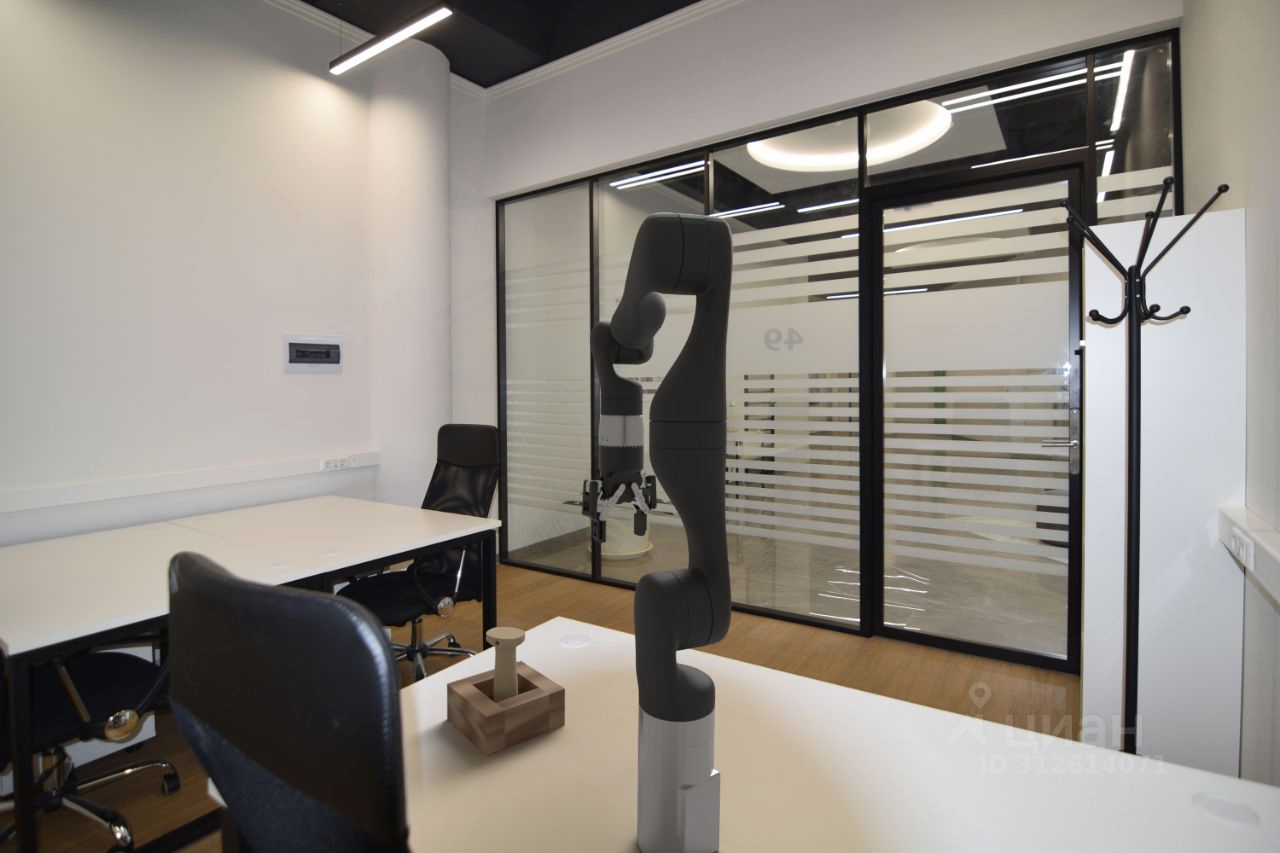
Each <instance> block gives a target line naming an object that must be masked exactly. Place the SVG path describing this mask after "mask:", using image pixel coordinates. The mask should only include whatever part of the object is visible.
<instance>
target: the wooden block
mask: <svg viewBox="0 0 1280 853" xmlns="http://www.w3.org/2000/svg"><path fill="white" fill-rule="evenodd" d="M516 662H517V678H518V695H517V696H514V697H511V698H508V699H505V700H502V701H500V702H497V703H495V702H494V672H495V668H493V669H490V670H487V671H483V672H480V673H477V674H474V675H471V676H468V677H465V678H461V679H458V680H455V681H450V682H448V683H447V684H446V719H447V720H448V721H449V723H451V724H452V725H453V726H454V727H455V726H456V727H457V728H456V727H455V728H456V729H457V730H459V731H460V732H461V733H462V734H463V735H464V736H465V737H466V738H467V739H468V740H469V741H470V742H472V744H473V745H475V746H476V748H478V749H479V750H480V751H481V752H482V753H483V754H484V755H485V756H487V757H488V756H490V755H493V754H494V753H495V754H496V753H497V752H501V751H503V750H505V749H507V748H510V747H513V746H515V745H518V744H520V743H522V742H525V741H527V740H530V739H533V738H534V737H538V736H539V735H542V734H544V733H547V732H550V731H552V730H554V729H557V728H559V727H561V726H564V725H566V689H565V687H563V686H561V685H560V684H559V683H557V682H555V681H553V680H552V679H551V678H548V677H547V676H546V675H544V674H542V673H541V672H540V671H538V670H536V669H535V668H533V667H532V666H530V665H528V664H526V663H525V662H524V661H522V660H519V661H516Z"/></svg>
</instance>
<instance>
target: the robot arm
mask: <svg viewBox="0 0 1280 853" xmlns="http://www.w3.org/2000/svg"><path fill="white" fill-rule="evenodd" d="M733 265H734V240H733V234H732V231H731V228H730V225H729V223H728V222H727V221H726V219H724V218H723V217H719V216H714V215H712V216H711V215H703V214H692V213H682V212H681V213H679V212H668V211H664V212H663V211H662V212H655V213H651V214H648V216H647V217H646V218H644V220H643V221H642V223H641V225H640V227H639V228H638V231H637V234H636V236H635V240H634V244H633V248H632V252H631V257H630V260H629V264H628V269H627V273H626V278H625V283H624V290H623V294H622V296H621V299H620V300H619V303H618V304H617V307H616V309H615V311H614V313H613V314H612V316H611V320H602V321H599V322H597V323H596V324H595V325H594V326H593V328H592V329H591V331H590V336H589V343H590V344H589V345H590V350H591V354H592V358H593V362H594V364H595V367H596V368H595V369H596V371H597V377H598V381H599V390H600V392H599V393H600V418H599V425H598V469H599V472H600V476H599V479H598V480H593V479H589V478H588V479H587V478H585V479H584V480H583V484H582V485H583V486H582V501H581V502H582V506H581V515H582V516H584V517H587V518H590V519H591V520H592V529H591V531H592V534H591V535H592V539H593V540H594V542H595V543H598V544H605V543H606V541H607V520H605V519H606V518H607V516H608V515H609V513H610V511H611V510H613V509H614V507H615V506H616V505H621V504H624V503H628V504H631V507H632V508H633V510H634V511H635V512H634V513H633V534H634V535H635V536H638V537H643V536H645V535H646V532H647V529H648V526H647V525H648V524H647V523H648V514H649V512H650V511H651V510H656V509H657V505H658V504H657V503H658V499H657V495H658V494H657V480H658V482H659V484H660V486H661V488H662V489H663V491H664V492H665V494H666V495H667V497H668V499H669V500H670V502H671V504H672V506H674V509H675V511H676V512H677V514H678V516H679V518H680V520H681V522H682V525H683V527H684V531H685V535H686V541H687V548H688V549H687V551H688V567H687V568H680V569H673V570H672V569H671V570H664V571H663V570H662V571H656V572H651V573H646V574H644V575H643V576H641V578H639V580H638V582H637V584H636V587H635V589H634V590H635V591H634V596H633V621H634V622H633V623H634V641H635V642H634V645H635V648H634V649H635V672H636V673H635V675H636V681H637V682H636V683H637V689H638V690H637V691H638V718H637V719H638V722H637V723H638V725H637V730H638V731H637V786H636V787H637V796H636V797H637V798H636V799H637V800H636V801H637V802H636V803H637V805H636V809H637V812H636V813H637V814H636V815H637V817H636V825H637V826H636V841H637V845H638V848H639V850H640V852H641V853H715V852H717V851H719V850H720V823H721V820H720V818H721V816H720V814H721V773H720V771H718V770H716V769H715V729H716V725H715V724H716V720H715V719H716V686H715V682H714V680H713V679H712V678H711V676H710V675H709V674H707V673H706V672H704V671H703V670H701V669H700V668H697V667H695V666H691V665H689V664H683V663H679V662H678V661H677V652H680V651H685V650H689V649H695V648H700V647H701V648H702V647H707V646H711V645H715V644H718V643H720V642H721V641H723V640H724V639H725V637H726V635H727V634H728V632H729V629H730V625H731V620H732V619H731V618H732V590H731V589H732V588H731V576H730V564H729V563H730V562H729V552H728V550H729V549H728V538H727V537H728V536H727V520H726V519H727V518H726V517H727V516H726V470H727V469H726V468H727V467H726V466H727V449H728V448H727V445H728V444H727V437H728V432H727V431H728V428H727V427H728V426H727V425H728V424H727V423H728V422H727V420H728V419H727V418H728V416H727V415H728V414H727V344H728V342H727V341H728V331H729V330H728V329H729V328H728V327H729V317H730V306H731V305H730V303H731V291H732V282H733V269H734V268H733ZM663 295H675V296H676V295H677V296H695V310H694V317H693V322H692V326H691V329H690V332H689V334H688V337H687V339H686V340H685V343H684V345H683V347H682V349H681V351H680V353H679V354H678V356H677V358H676V359H675V361H674V362H673V364H672V366H670V368H669V370H668V371H667V373H666V374H665V376H664V377H663V379H662V380H661V382H660V384H659V385H658V388H657V389H656V390H655V393H654V395H653V397H652V400H651V402H650V406H649V410H648V411H649V412H648V413H649V415H648V418H649V421H648V423H649V424H648V428H649V430H648V431H649V432H648V433H649V434H648V446H649V447H648V453H649V454H648V455H649V462H650V465H651V469H652V471H653V472H654V474H650V473H642V472H641V471H643V470H644V468H645V467H644V461H645V460H644V457H645V455H644V454H645V451H644V450H645V446H644V445H645V428H644V426H645V425H644V418H643V414H644V412H643V410H644V409H643V408H644V405H643V404H644V402H643V399H644V397H643V396H644V390H643V389H644V388H643V385H642V383H641V382H640V381H639V380H636V379H633V378H628V377H623V376H621V375H619V374H618V373H617V371H616V370H615V368H614V365H626V366H627V365H630V366H633V365H634V366H639V365H643V364H645V363H647V362H649V361H650V360H651V359H652V357H653V354H654V348H655V347H654V346H655V340H654V337H655V336H656V335H657V334H658V332H659V331H660V329H661V328H662V327H663V324H664V322H665V319H666V315H667V304H666V301H665V298H664V296H663ZM640 488H641V490H640Z"/></svg>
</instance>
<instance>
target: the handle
mask: <svg viewBox="0 0 1280 853" xmlns="http://www.w3.org/2000/svg"><path fill="white" fill-rule="evenodd" d="M485 635H486V636H485V640H486V642H487V643H489V644H490V645H491V646H493V647H494V652H495V654H494V655H495V658H494V669H495V672H494V702H495V703H497V702H500V701H502V700H505V699H508V698H511V697H514V696H517V695H518V678H517V662H518V661H517V647H518V646H520V645H522V644H523V643H525V640H526V631H525V630H523V629H520V628H516V627H512V626H495V627H493V628H490V629H488V630H487V631H486V633H485Z"/></svg>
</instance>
